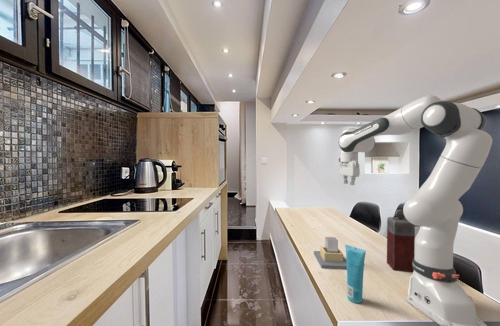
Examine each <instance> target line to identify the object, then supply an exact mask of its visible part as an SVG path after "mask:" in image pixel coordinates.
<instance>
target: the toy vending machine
mask: <svg viewBox="0 0 500 326" xmlns="http://www.w3.org/2000/svg"><path fill="white" fill-rule="evenodd" d="M394 216H395V217H392V216H388V217H387V218H386V219H387V221H386V225H387V226H386V264H388V266H389V268H391V269H392V270H393V271H397V272H404V273H405V272H406V273H413V271H414V269H413V258H414V247H415V237H416V225H414V224H412V223H410V222H409V221H408V220H407V219H406V218H405V216H404V213H403V209H397V210H395V211H394Z"/></svg>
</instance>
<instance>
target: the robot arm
mask: <svg viewBox="0 0 500 326" xmlns="http://www.w3.org/2000/svg"><path fill="white" fill-rule="evenodd" d="M485 125H486V117H485V115H484V114H483V113H482V112H481V111H480V110H478V109H477V108H476V107H475V108H474V107H470V106H467V105H466V104H463V103H459V102H452V101H449V100H442V99H441V98H440V97H438V96H436V95H433V94H429V95H425V96H422V97H420V98H418V99H415V100H413V101H410V102H409V103H407V104H405V105H404V106H402V107H400V108H398V109H396V110H395V111H392V112H391V113H389V114H387V115H384V116H382V117H380V118H378V119H376V120H373V121H371V122H368V123H366V124H365V125H363V126H361V127H359V128H347V129H345V130H343V131H342V133H341V135H340V137H339V139H338V146H339V148H340V150H341V151H340V157H339V158H338V163H339V164H338V165H339V167H338V168H339V174H340V175H341V176H342V180H343V184H347V185H348V184H349V185H350V186H355V182H356V178H358V177H360V176H361V175H360V174H361V172H360V163H359V153H369V152H371V151H373V150H374V148H375V146H376V139H375V137H379V136H401V135H406V134H409V133H412V132H416V131H418V130H420V129H422V128H425V129H426V130H428V131H429V132H430V133H432V134H434V135H435V136H437V137H438V138H444V139H445V143H446V144H445V147H444V149H443V151H442V152H441V154H440V156H439V157H438V160H437V162H436V164H435V165H434V167H433V169H432V171H431V173H430V175H429V176H428V177H427V179H426V180H425V182H423V184H422V185H421V186H420V187H419V188H418V190H417V191H416V192H415V193H414V195H413V196H411V198H409V199H407V201H406V202H404V205H403V209H402V210H403V213H404V216H405V218H406V219H407V220H408V221H409V222H410V223H412V224H414V225H415V227H416V226H417V227H419V229H418V232H417V234H415V247H414V258H413V269H414V271H413V272H412V274H411V275H410V277H409V282H408V291H407V294H406V295H405V296H404V300H405V301H406V302H407V303H409V304H410V305H412V306H413V307H414V308H416V309H417V310H419V311H420V312H421V313H422V314H424V315H425V316H426V317H428V318H429V319H431V320H432V321H433V322H434V323H436V324H437V325H439V326H488V325H487V324H486V323H485V321H483V320H482V319H480V317H479V316H478V315H477V309H476V305H475V303H474V300H473V297H471V295H468V294H467V292H466V291H465V289H464V288H463V287H462V285H461V284H460V283H459V282H458V280H459V279H460V274H457V272H456V269H455V267H454V245H455V238H456V235H457V232H458V228H459V227H458V226H459V223H460V219H461V217H462V216H463V213H464V207H463V204H462V203H461V201H459V200H460V198H461V197H462V196H463V195H464V194H465V193H466V192H468V191H469V190H470V189H471V187H472V185H473V183H474V181H475V180H476V178H477V177H478V175H479V173H480V171H481V170H482V169H483V166H484V164H485V163H486V160H487V158H488V157H489V153H490V151H491V147H492V145H493V137H492V136H491V134H489V133H488V132H487V131H484V130H483V129H484V127H485ZM348 177H350V181H349V180H348Z"/></svg>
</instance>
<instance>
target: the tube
mask: <svg viewBox="0 0 500 326" xmlns="http://www.w3.org/2000/svg"><path fill="white" fill-rule="evenodd" d="M344 248H345V259H346V260H347V269H346V280H347V281H346V283H347V285H346V287H347V288H346V289H347V299H348V300H349V302H350V303H351V302H352V303H355V304H361V303H362V302H363V290H364V289H363V288H364V271H365V259H366V253H367V250H366V249H362V248H358V247H355V246H352V245H349V244H345V247H344Z"/></svg>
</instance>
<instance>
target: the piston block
mask: <svg viewBox="0 0 500 326" xmlns="http://www.w3.org/2000/svg"><path fill="white" fill-rule="evenodd" d="M324 239H325V241H324V243H325V244H324V247H325V252H326V253H338V249H339V240H338V238H336V237H335V236H334V237H333V236H326V237H325V238H324Z"/></svg>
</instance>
